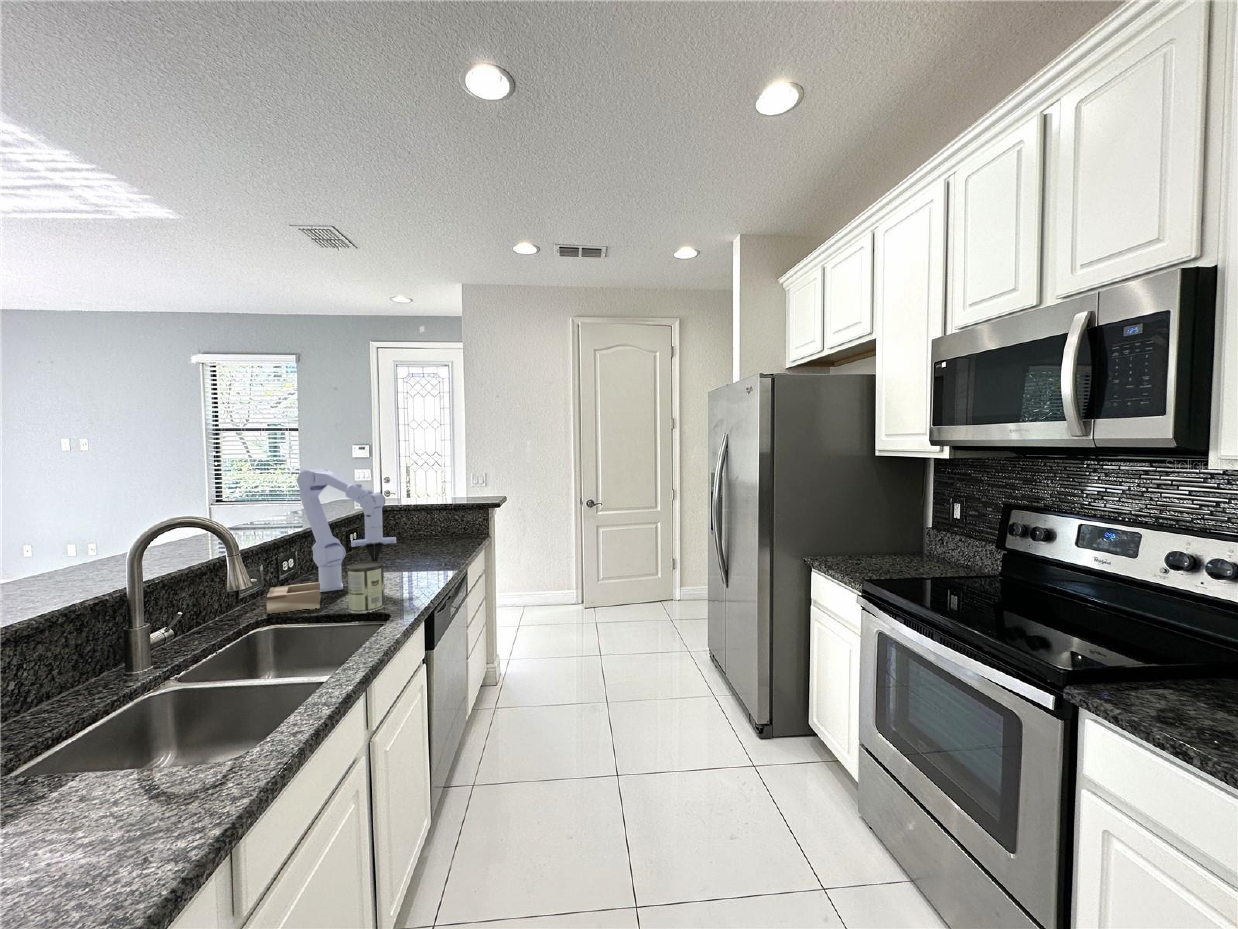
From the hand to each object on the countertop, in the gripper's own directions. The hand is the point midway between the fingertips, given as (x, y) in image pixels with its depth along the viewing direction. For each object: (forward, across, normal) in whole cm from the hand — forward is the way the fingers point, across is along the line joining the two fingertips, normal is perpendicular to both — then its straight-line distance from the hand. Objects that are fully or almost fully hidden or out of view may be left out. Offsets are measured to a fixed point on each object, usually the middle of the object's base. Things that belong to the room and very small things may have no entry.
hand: (374, 564), depth 186 cm
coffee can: (+10, -4, -22) cm, 24 cm away
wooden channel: (+9, -24, -7) cm, 27 cm away
